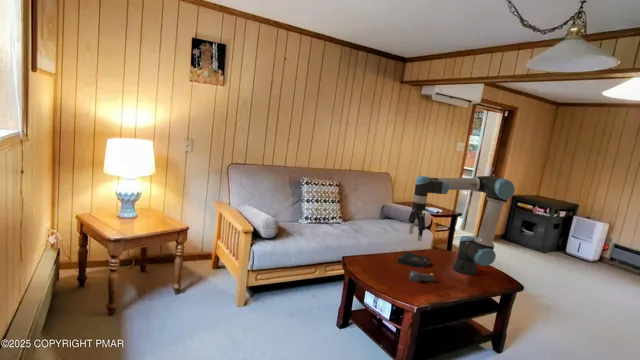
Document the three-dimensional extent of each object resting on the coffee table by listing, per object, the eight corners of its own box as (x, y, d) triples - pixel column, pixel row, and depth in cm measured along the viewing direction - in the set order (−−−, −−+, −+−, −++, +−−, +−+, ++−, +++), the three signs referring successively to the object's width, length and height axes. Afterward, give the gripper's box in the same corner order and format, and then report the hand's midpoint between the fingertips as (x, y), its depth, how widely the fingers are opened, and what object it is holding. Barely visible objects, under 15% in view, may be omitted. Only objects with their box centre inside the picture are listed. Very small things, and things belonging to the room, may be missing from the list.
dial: (411, 281, 201) (412, 274, 201) (407, 277, 208) (408, 270, 207) (434, 283, 203) (436, 276, 203) (430, 278, 210) (431, 271, 209)
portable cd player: (422, 270, 226) (423, 264, 225) (397, 263, 235) (398, 257, 234) (429, 264, 240) (430, 258, 239) (405, 257, 249) (406, 251, 248)
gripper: (406, 197, 219) (401, 230, 222) (421, 206, 195) (416, 243, 198) (417, 198, 220) (412, 231, 223) (434, 207, 196) (429, 244, 199)
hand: (414, 237), depth 210 cm, fingers open, 13 cm apart
